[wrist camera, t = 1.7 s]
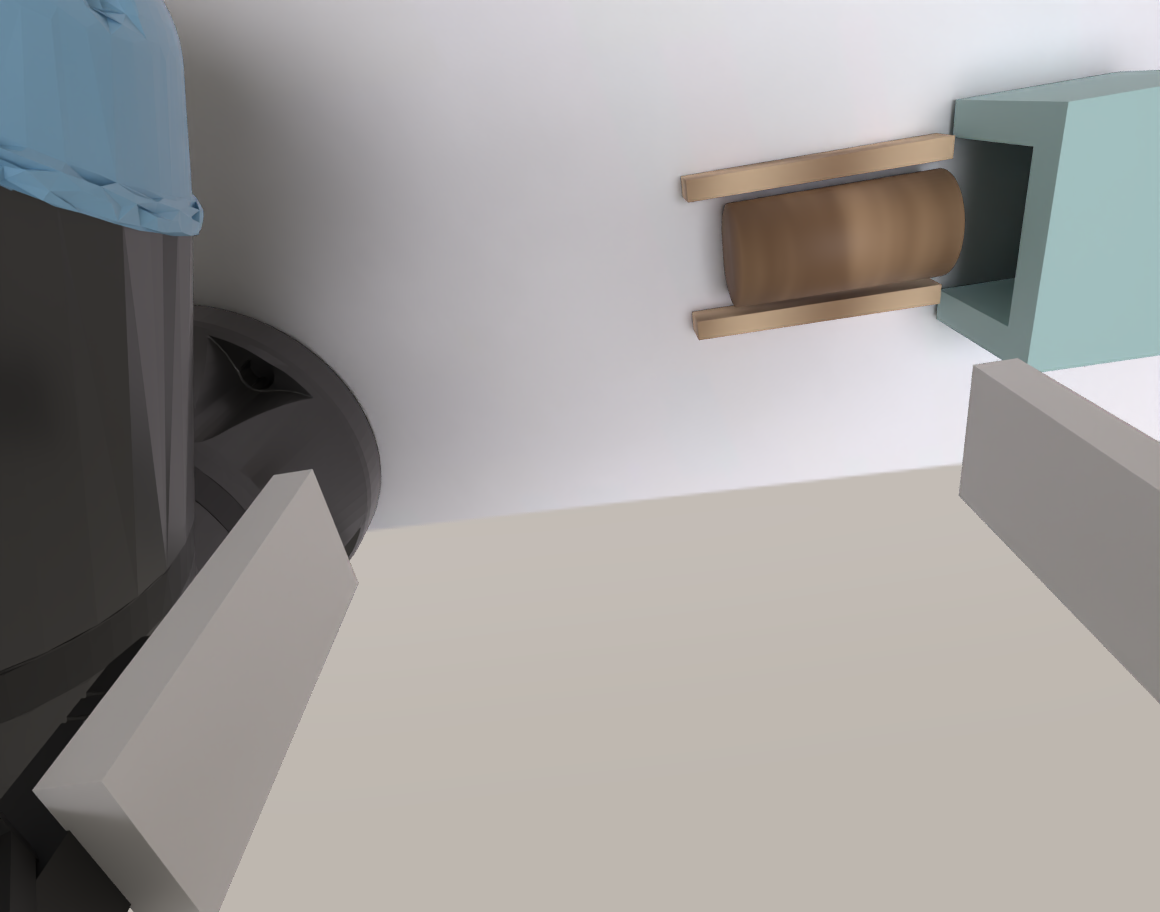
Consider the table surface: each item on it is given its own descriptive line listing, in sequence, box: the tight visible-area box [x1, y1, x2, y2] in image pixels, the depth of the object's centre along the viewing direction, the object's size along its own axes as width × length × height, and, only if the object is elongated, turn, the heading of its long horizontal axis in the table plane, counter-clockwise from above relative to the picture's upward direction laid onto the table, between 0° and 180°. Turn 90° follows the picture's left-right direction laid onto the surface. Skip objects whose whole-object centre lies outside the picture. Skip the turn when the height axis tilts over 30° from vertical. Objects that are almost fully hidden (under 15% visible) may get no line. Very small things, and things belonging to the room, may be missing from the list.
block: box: [936, 70, 1160, 372], centre depth 25 cm, size 6×9×7 cm
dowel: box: [722, 168, 965, 307], centre depth 27 cm, size 8×4×4 cm, turn 99°
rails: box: [681, 133, 955, 340], centre depth 28 cm, size 10×6×2 cm, turn 99°
